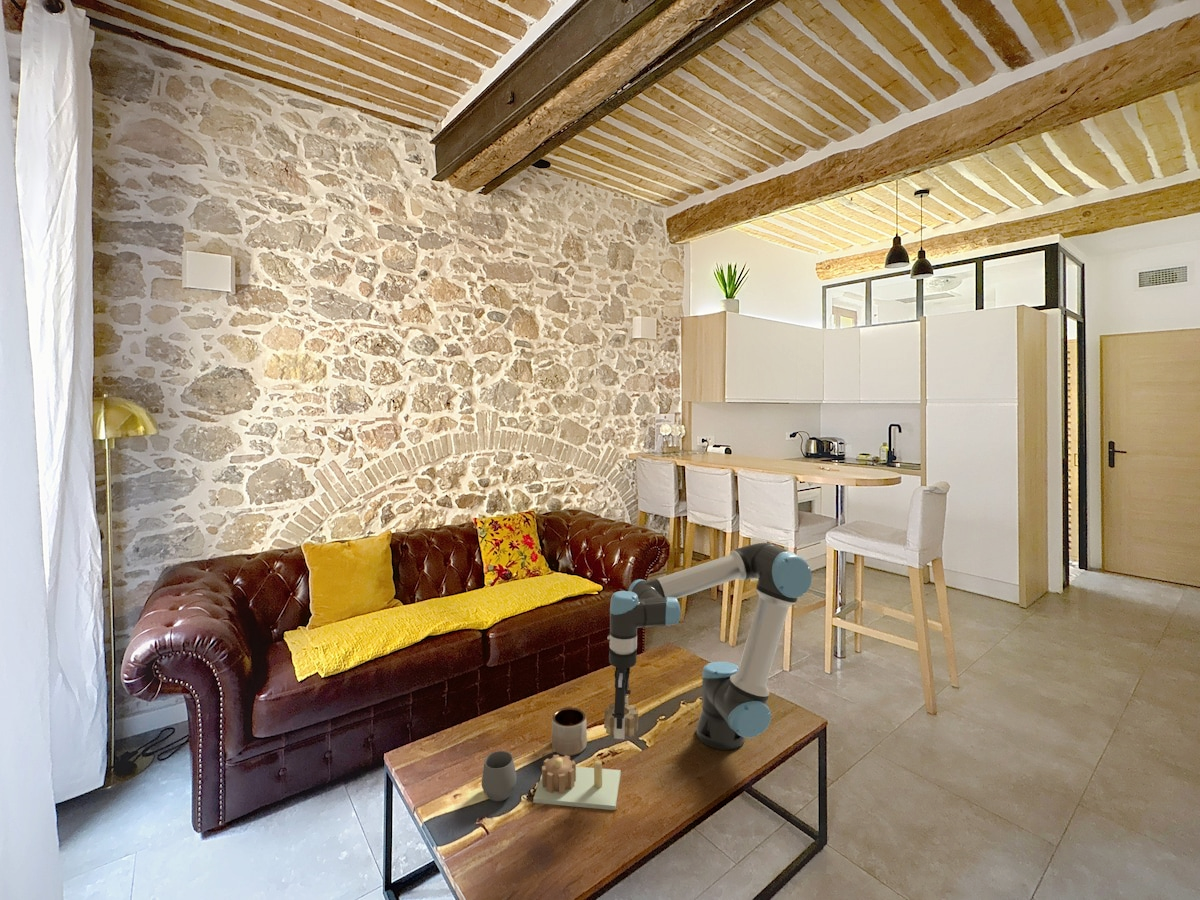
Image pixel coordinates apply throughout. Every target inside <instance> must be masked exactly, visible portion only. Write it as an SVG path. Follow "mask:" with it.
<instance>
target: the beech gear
mask: <svg viewBox="0 0 1200 900" xmlns="http://www.w3.org/2000/svg"><path fill="white" fill-rule="evenodd" d="M604 709H605V710H604V724H603V725H604V726H603V727H604V728H603V729H606V731H605V733H606V734H607V735H609V736H611V735H613V736H614V724H615V718H614V716H612V713H613V714H614V710H615V702H611V703H609V704H608V707H605V708H604ZM624 714H625V736H624V737H628V738H631V737H634V736H635V732H639V731H638V730H639V729H638V727H639V710H637V706H635V705H634V704H631V705H629V703H628V704H626V702H625V710H624Z"/></svg>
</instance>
